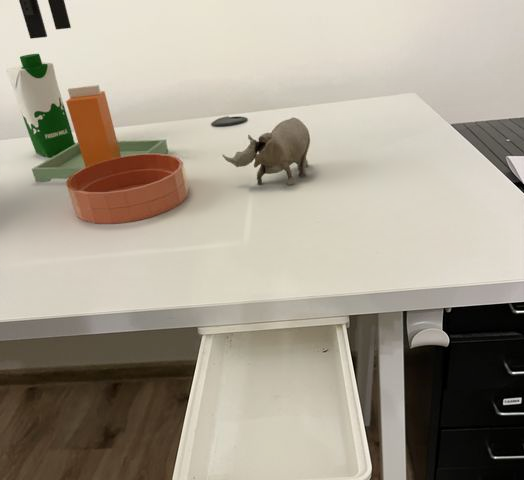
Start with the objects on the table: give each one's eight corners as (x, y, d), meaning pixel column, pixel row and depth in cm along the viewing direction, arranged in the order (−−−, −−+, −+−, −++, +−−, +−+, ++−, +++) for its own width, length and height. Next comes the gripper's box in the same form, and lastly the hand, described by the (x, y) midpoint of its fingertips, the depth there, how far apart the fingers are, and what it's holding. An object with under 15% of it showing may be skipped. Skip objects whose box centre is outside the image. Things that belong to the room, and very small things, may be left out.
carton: (86, 169, 112) (63, 92, 103) (93, 160, 116) (72, 85, 108) (114, 166, 111) (94, 88, 102) (121, 157, 116) (102, 82, 107)
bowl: (54, 226, 89) (42, 193, 86) (111, 183, 104) (103, 154, 101) (160, 228, 84) (152, 193, 81) (204, 183, 99) (199, 152, 95)
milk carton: (46, 159, 123) (13, 60, 111) (30, 153, 128) (-3, 58, 117) (82, 148, 127) (53, 51, 115) (64, 143, 133) (36, 50, 121)
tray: (35, 181, 110) (31, 169, 109) (81, 153, 124) (78, 142, 122) (130, 180, 104) (127, 167, 103) (168, 151, 118) (165, 139, 116)
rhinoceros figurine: (341, 152, 96) (295, 87, 86) (300, 216, 95) (247, 159, 85) (312, 149, 102) (264, 88, 92) (272, 210, 101) (220, 155, 91)
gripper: (0, -136, 75) (49, 39, 88) (57, -117, 96) (90, 23, 108) (-52, -130, 76) (4, 44, 88) (16, -112, 96) (53, 27, 109)
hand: (51, 33), depth 98 cm, fingers open, 13 cm apart
